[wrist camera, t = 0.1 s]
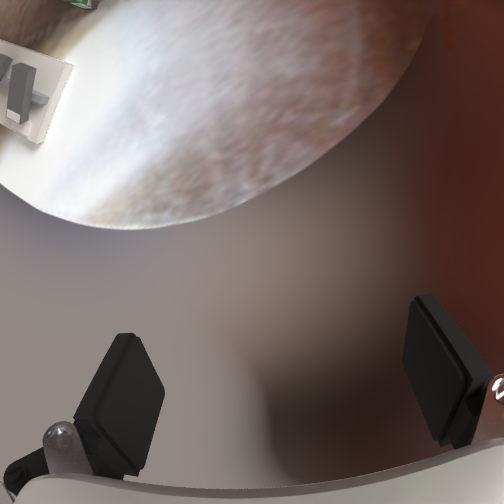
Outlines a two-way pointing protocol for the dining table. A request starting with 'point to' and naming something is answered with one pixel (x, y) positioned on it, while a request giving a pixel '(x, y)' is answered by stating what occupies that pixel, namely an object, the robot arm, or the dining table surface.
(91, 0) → the coffee box
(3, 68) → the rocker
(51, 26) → the dining table surface
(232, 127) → the dining table surface
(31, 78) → the block
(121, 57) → the dining table surface
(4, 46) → the switch housing
